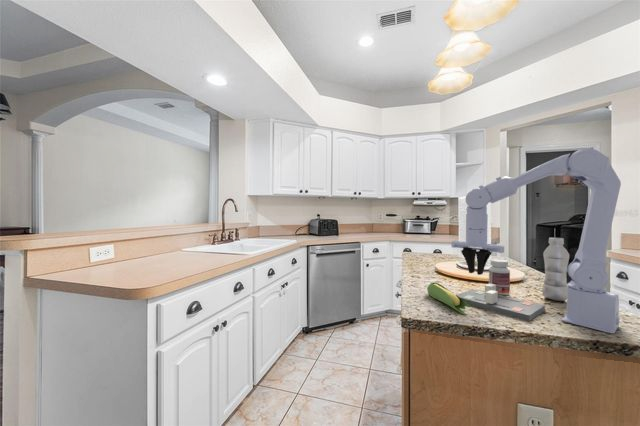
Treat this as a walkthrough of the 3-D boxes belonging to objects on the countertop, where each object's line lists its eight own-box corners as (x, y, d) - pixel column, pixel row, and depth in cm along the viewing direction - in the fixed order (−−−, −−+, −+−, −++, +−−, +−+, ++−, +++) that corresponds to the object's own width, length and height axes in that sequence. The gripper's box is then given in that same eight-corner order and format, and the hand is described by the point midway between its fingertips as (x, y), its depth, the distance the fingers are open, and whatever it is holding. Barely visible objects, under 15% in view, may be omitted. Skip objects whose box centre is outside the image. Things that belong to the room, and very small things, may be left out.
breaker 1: (495, 293, 90) (495, 284, 90) (490, 295, 88) (491, 286, 88) (489, 292, 91) (489, 283, 91) (484, 294, 89) (484, 285, 89)
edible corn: (437, 294, 96) (438, 280, 96) (474, 316, 76) (474, 299, 76) (423, 294, 96) (423, 281, 96) (456, 316, 76) (456, 300, 76)
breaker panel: (544, 310, 80) (544, 304, 80) (529, 321, 72) (529, 315, 72) (472, 293, 96) (472, 288, 96) (453, 300, 88) (453, 295, 88)
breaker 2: (497, 301, 82) (497, 291, 82) (492, 304, 80) (492, 293, 80) (490, 300, 84) (490, 290, 84) (485, 302, 82) (485, 292, 81)
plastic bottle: (557, 297, 93) (559, 237, 93) (574, 303, 86) (575, 239, 86) (537, 296, 94) (538, 236, 93) (551, 303, 87) (553, 239, 86)
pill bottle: (514, 295, 95) (514, 261, 95) (497, 295, 94) (498, 262, 94) (500, 289, 101) (500, 258, 101) (484, 290, 100) (485, 259, 100)
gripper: (446, 228, 89) (446, 270, 89) (497, 231, 77) (496, 280, 77) (457, 227, 93) (457, 268, 93) (507, 230, 81) (506, 276, 81)
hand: (475, 273), depth 85 cm, fingers closed
